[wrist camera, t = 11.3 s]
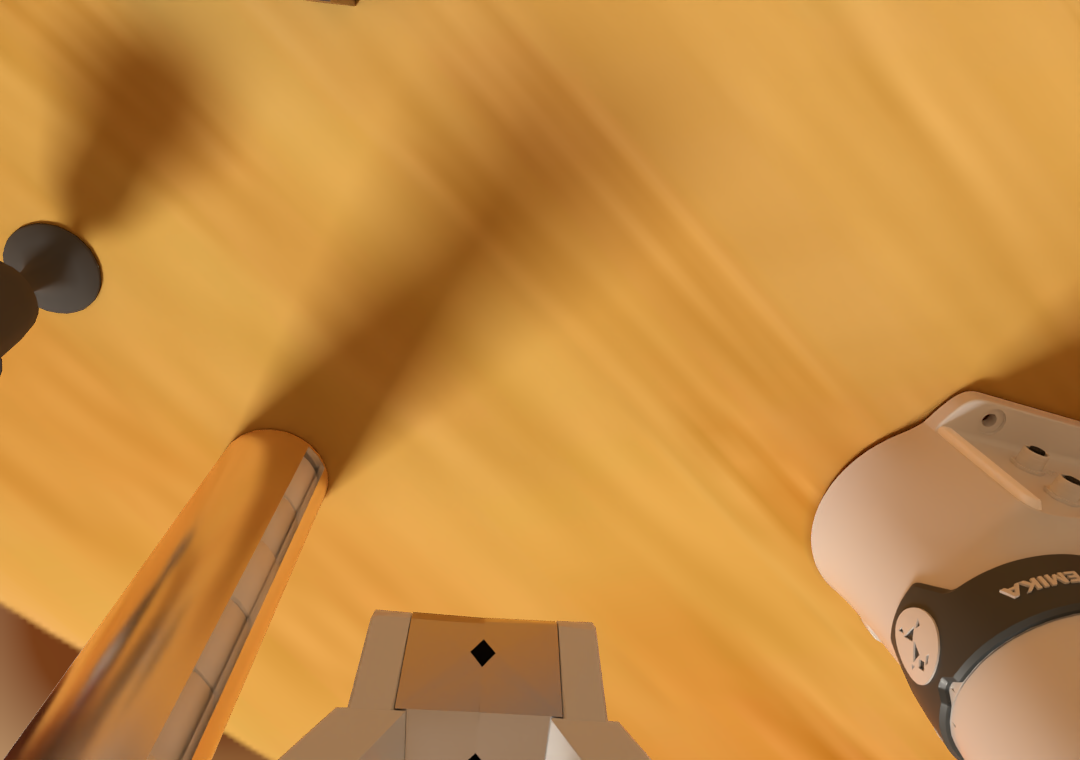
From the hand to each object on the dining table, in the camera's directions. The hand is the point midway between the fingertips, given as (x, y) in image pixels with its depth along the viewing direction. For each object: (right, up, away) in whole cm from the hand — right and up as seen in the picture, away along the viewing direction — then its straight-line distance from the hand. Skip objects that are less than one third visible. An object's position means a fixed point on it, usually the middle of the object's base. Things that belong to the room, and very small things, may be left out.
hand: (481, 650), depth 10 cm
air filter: (-15, -2, +35) cm, 38 cm away
